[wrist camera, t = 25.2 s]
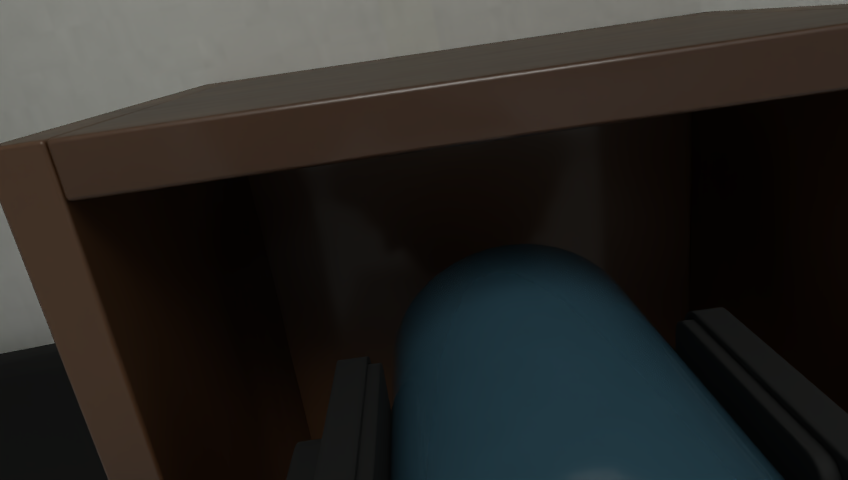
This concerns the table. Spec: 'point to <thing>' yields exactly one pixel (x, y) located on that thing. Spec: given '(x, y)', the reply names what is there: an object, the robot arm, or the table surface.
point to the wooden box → (427, 216)
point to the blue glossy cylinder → (550, 382)
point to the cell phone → (42, 421)
